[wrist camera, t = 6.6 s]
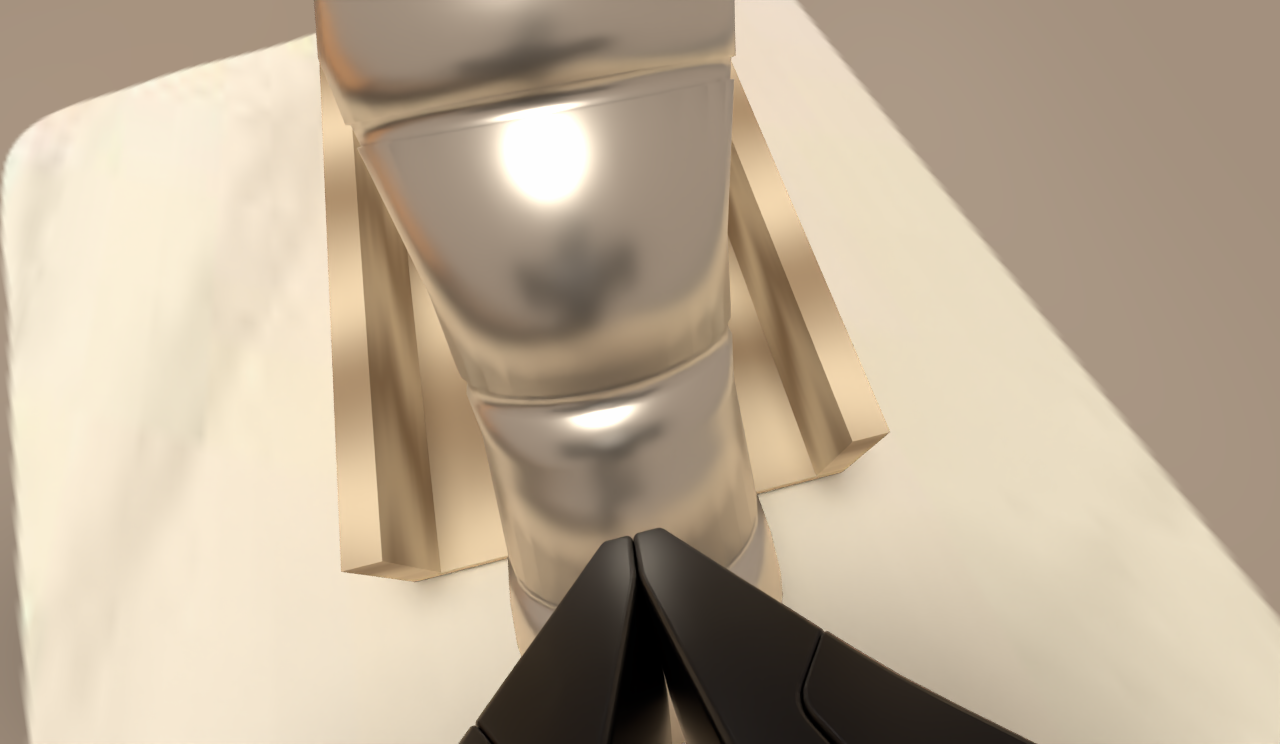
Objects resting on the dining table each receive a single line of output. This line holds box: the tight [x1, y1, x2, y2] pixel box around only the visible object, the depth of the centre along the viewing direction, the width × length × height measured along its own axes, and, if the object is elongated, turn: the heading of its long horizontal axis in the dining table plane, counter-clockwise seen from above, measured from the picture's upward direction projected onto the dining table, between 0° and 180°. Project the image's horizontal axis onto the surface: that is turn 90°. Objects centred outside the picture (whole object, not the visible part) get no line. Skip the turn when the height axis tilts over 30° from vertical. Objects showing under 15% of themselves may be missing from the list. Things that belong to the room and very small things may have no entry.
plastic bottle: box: [314, 0, 783, 744], centre depth 11 cm, size 6×7×20 cm
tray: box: [320, 62, 890, 582], centre depth 21 cm, size 23×14×4 cm, turn 14°
